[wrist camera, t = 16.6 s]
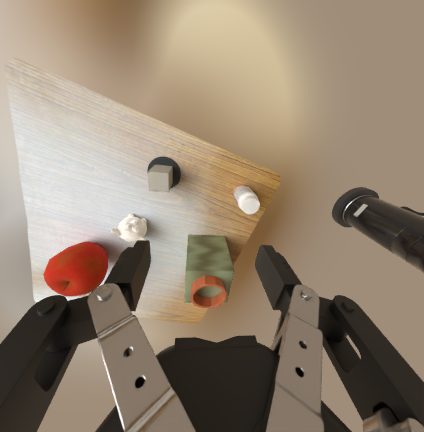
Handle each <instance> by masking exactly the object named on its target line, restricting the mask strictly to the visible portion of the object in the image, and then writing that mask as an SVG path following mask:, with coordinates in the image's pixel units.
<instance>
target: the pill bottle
mask: <svg viewBox="0 0 424 432" xmlns="http://www.w3.org/2000/svg"><path fill="white" fill-rule="evenodd" d="M234 198H235V200H236V202H237V204H238V206H239V207H240V209H242V210H243V211H244V212H245V213H246V214H254V213H255V212H257V211H258V209H259V207H260V203H259V201H258V197H257V196H256V194H255V193H254V192H253V191H252V190H251V189H250V187H248V186H247V185H240V186H238V187H237V188H236V189H235V190H234Z"/></svg>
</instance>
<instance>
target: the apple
mask: <svg viewBox="0 0 424 432" xmlns="http://www.w3.org/2000/svg"><path fill="white" fill-rule="evenodd" d="M107 269H108V254H107V252H106V251H105V249H103V248H102V247H101V246H100V245H98V244H95V243H92V242H82V243H79V244H76V245H73V246H71V247H68V248H66V249H65V250H63V251H62V252H60V253H59V254H57V255H56V256H54V257H53V258H51V259H50V260H49V262H48V265H47V267H46V269H45V272H44V278H45V281H46V283H47V285H48V286H49V287H50V288H51V289H52V290H54V291H55V292H57V293H59V294H61V295H64V296H78V295H83V294H87V293H89V292H91V291H93V290H94V289H96V288H97V287H98V286H99V285H100V284H101V283H102V281H103V280H104V278H105V275H106V272H107Z"/></svg>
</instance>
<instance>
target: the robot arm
mask: <svg viewBox="0 0 424 432" xmlns="http://www.w3.org/2000/svg"><path fill="white" fill-rule="evenodd" d="M422 216H424V213H418V212H416V211H413V210H412V209H410V208H408V207H398V206H395V205H393V204H390V203H387V202H385V201H383V200H380V199H378V198H375V197H374V196H371V195H369V194H362V195H358V196H356V197H354V198H353V199H351V200H350V201H349V202H348V203H347V204H346V205H345V206H344V208H343V210H342V213H341V217H342V220H343V221H344V222H345V223H347V224H349V225H351V226H352V227H354V228H355V229H357V230H358V231H360V232H361V233H363V234H364V235H366V236H367V237H369V238H370V239H372V240H374V241H375V242H377V243H378V244H380V245H381V246H383V247H384V248H386V249H388V250H389V251H391V252H392V253H394V254H395V255H397V256H399V257H400V258H402V259H403V260H405V261H406V262H408V263H410V264H411V265H412V266H414V267H416V268H417V269H419V270H420V271H421V272H423V273H424V217H422ZM150 262H151V254H150V242H149V241H148V240H137V241H136V243H135V245H134V247H128V248H127V249H126V250H124V251H123V252H122V253H121V255H120V257H119V259H118V260H117V262H116V265H114V267H113V269H112V271H111V272H110V274H109V276H108V277H107V279H106V281H105V283H104V284H103V285H101V286H99V287H97V288H96V289H94V290H93V291H92V292H91V293H90V295H88V296H85V297H82V298H78V299H74V300H70V301H67V299H66V298H65V297H64V296H61V295H55V296H50V297H47V298H45V299H43V300H41V301H39V302H37V303H36V304H35V305H33V306H32V307H31V308H30V309H29V310H28V312H27V313H26V314H25V315H24V316H23V317H22V319H21V320H20V321H19V322H18V323H17V325H16V326H15V327H14V328H13V329H12V331H11V332H10V333H9V334H8V336H7V337H6V338H5V339H4V340H3V342H2V343H1V344H0V432H37V430H38V428H39V426H40V424H41V421H42V420H43V418H44V415H45V413H46V411H47V409H48V407H49V405H50V403H51V401H52V399H53V396H54V394H55V392H56V390H57V388H58V386H59V384H60V382H61V380H62V378H63V376H64V373H65V371H66V369H67V367H68V365H69V363H70V361H71V359H72V357H73V355H74V353H75V350H76V348H77V346H78V344H80V343H84V342H87V341H89V340H92V339H95V338H98V342H99V346H100V349H101V353H102V356H103V360H104V363H105V367H106V370H107V374H108V377H109V381H110V384H111V388H112V391H113V395H114V398H115V402H116V406H115V407H114V408H113V410H112V411H111V412H110V413H109V415H108V416H107V417H106V419H105V420H104V421H103V422H102V424H101V425H100V426H99V428H98V429H97V430H96V432H351V431H350V429H349V428H348V427H347V426H346V425H345V424H344V423H343V422H342V421H341V420H340V419H339V418H338V417H337V416H336V415H335V414H334V413H333V412H332V411H331V410H330V409H329V408H328V407H327V406H326V404H324V403H323V401H322V400H321V382H322V381H321V380H322V345H323V347H324V348H325V350H326V352H327V354H328V356H329V358H330V360H331V362H332V364H333V366H334V367H335V369H336V371H337V373H338V375H339V377H340V378H341V381H342V382H343V384H344V386H345V388H346V390H347V392H348V394H349V396H350V398H351V400H352V401H353V403H354V405H355V407H356V408H357V411H358V413H359V415H360V416H361V419H362V420H363V431H364V432H424V382H423V381H422V380H421V379H420V378H419V376H418V375H417V374H416V373H415V372H414V370H413V369H412V368H411V367H410V366H409V364H408V363H407V362H406V361H405V360H404V358H403V357H402V356H401V355H400V354H399V353H398V351H397V350H396V349H395V348H394V347H393V346H392V344H391V343H390V342H389V341H388V340H387V338H386V337H385V336H384V335H383V334H382V333H381V331H380V330H379V329H378V328H377V327H376V325H375V324H374V323H373V322H372V321H371V320H370V318H369V317H368V316H367V315H366V314H365V312H363V310H362V309H361V308H360V307H359V305H357V304H356V303H355V302H354V301H352V300H351V299H349V298H347V297H345V296H341V295H337V296H335V297H334V299H333V300H329V299H325V298H322V297H318V295H317V294H316V292H315V291H313V290H312V289H311V288H309V287H307V286H305V285H302V283H301V282H300V280H299V279H298V277H297V276H296V274H295V273H294V271H293V270H292V269H291V267H290V265H289V264H288V263H287V261H286V259H285V258H284V257H283V256H282V255H281V254H279V253H277V252H276V251H275V250H274V248H273V247H272V246H270V245H261V246H260V248H259V251H258V254H257V258H256V262H255V267H256V270H257V272H258V275H259V277H260V280H261V282H262V284H263V287H264V289H265V292H266V294H267V296H268V298H269V301H270V303H271V306H272V308H273V310H280V311H281V315H280V318H279V322H278V326H277V329H276V333H275V337H274V340H273V344H272V346H271V349H270V348H268V347H266V346H265V345H262V344H260V343H257V341H256V337H255V336H236V337H232V338H230V339H227V340H224V341H221V342H218V343H216V342H211V341H207V340H203V339H200V338H176V339H175V345H173V346H170V347H168V348H166V349H164V350H163V351H161V352H160V353H159V354H158V355H156V356H155V353H154V351H153V349H152V348H151V345H150V343H149V342H148V340H147V338H146V335H145V333H144V331H143V329H142V327H141V325H140V323H139V322H138V319H137V317H136V316H135V315H133V314H132V312H131V311H135V310H136V307H137V304H138V301H139V298H140V295H141V292H142V289H143V286H144V283H145V279H146V276H147V273H148V270H149V267H150ZM347 335H349V337H350V338H351V340H352V341H353V343H354V344H355V346H356V347H357V349H358V350H359V352H360V355H361V359H360V358H359V356H358V355H357V353H356V352H355V350H354V349H353V347H352V346H351V344H350V343H349V341H348V339H347V338H346V336H347Z"/></svg>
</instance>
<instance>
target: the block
mask: <svg viewBox="0 0 424 432" xmlns="http://www.w3.org/2000/svg"><path fill="white" fill-rule="evenodd" d="M148 182H149V191H157V192H169V190H170V188H171V185H172V183H173V166H166V165H154V166H153V167H152V168H151V169H150V170H149V171H148Z"/></svg>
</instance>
